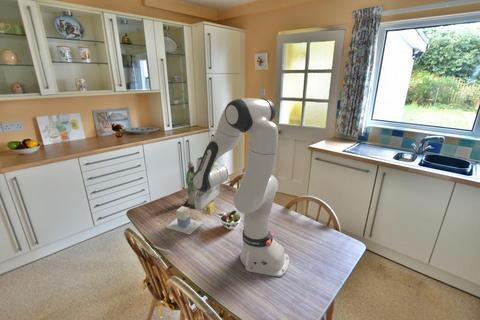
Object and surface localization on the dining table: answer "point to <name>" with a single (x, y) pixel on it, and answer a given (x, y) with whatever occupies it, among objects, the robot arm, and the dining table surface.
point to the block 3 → (210, 208)
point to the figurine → (190, 187)
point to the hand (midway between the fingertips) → (208, 208)
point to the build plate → (186, 230)
